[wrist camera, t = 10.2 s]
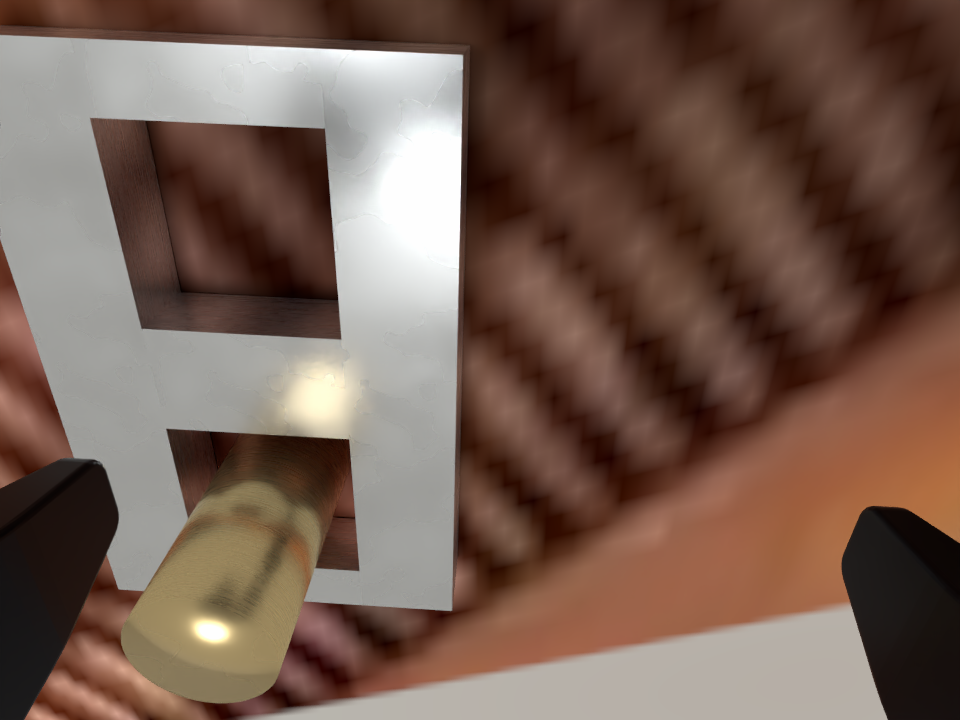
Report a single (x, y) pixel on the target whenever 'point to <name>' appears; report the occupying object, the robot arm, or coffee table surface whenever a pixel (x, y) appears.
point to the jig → (248, 319)
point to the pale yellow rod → (239, 570)
